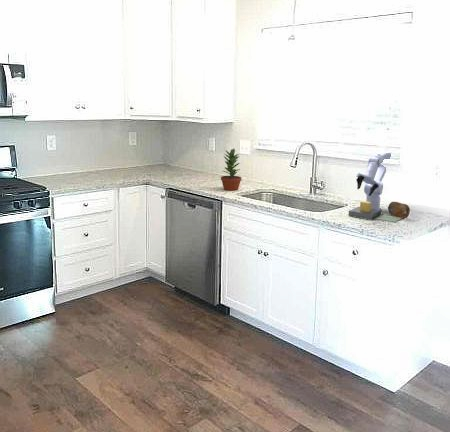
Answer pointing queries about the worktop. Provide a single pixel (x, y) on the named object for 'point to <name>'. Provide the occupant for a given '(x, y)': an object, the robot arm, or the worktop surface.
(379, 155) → the robot arm
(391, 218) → the mat
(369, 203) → the plug
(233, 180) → the potted plant
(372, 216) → the square hole plate
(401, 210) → the tin
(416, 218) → the worktop surface
